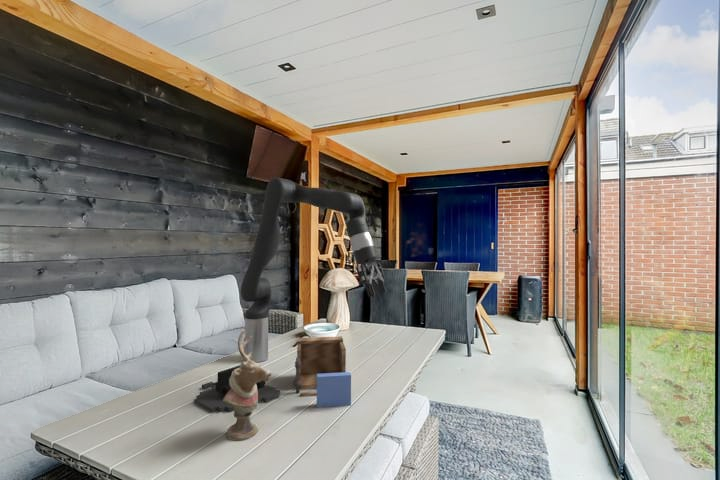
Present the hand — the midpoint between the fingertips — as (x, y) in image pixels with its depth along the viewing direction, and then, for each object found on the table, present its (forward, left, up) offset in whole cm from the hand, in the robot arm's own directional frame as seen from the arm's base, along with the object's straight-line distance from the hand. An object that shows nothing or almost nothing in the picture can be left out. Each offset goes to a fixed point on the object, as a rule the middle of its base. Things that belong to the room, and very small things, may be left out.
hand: (378, 294), depth 115 cm
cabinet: (-18, +8, -31) cm, 37 cm away
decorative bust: (-38, -21, -31) cm, 54 cm away
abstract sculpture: (-46, +3, -32) cm, 56 cm away
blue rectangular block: (-15, -8, -31) cm, 35 cm away
